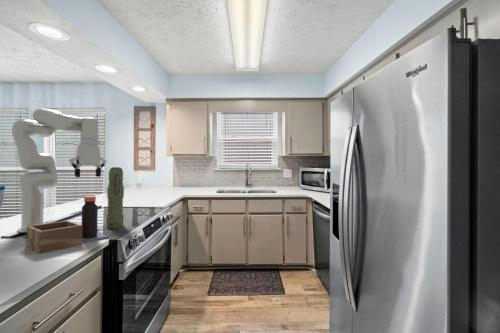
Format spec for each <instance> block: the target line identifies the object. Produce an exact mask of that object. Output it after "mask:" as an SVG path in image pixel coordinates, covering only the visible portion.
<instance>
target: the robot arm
mask: <svg viewBox="0 0 500 333" xmlns="http://www.w3.org/2000/svg"><path fill="white" fill-rule="evenodd" d="M32 118H33V120H31V119H18V120H15V121H14V122H13V124H12V127H11V133H12V138H13V140H14V142H15V145H16V148H17V154H18V159H19V164H20V167H21V169H23V170H25V171H28V172H24V173H23V174H22V175H20V177H19V181H18V182H19V186H20V187H19V188H20V191H21V215H20V216H21V219H20V220H21V222H20V223H21V224H20V225H21V227H18V228H17V233H18V232H19V233H27V226H33V225H40V224H44V212H45V211H44V208H45V206H44V205H45V201H44V200H45V198H44V195H43V193H42V192H41V190H43V189H44V190H45V189H52V188H54V187H56V186H57V185H58V172H57V167H56V163H55V159H54V157H53V156H52V155H51V154H49V153H42V152H39V151H38V146H37V144H36V142H35V141H34V139H33V138H31V137H39V138H49V137H51V136H52V135H53V134H55V133H56V132H57V131H59V130H60V131H65V132H72V133H80V136H79V137H80V139H79V140H80V142H79V144H78V145H77V149H76V153H75V156H74V157H71V158H69V159H68V161H69V164H70V166H71V167H73V169H74V176H75V178H80V177H81V169H80V168H81V167H82V166H95V167H96V168H95V177H99V178H100V177H101V174H102V169H103V167H105V166H106V163H107V160H106V159H104V158H103V157H101V152H100V151H101V149H100V146H99V144H101V141H100V140H99V120H98V119H97V118H95V117H90V116H87V117H86V116H85V117H79V116H73V115H68V114H67V115H66V114H64V113H63V112H61V111H58V110H55V109H54V110H53V109H48V108H37V109H35V110H34V111H33V112H32ZM30 136H31V137H30Z"/></svg>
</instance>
